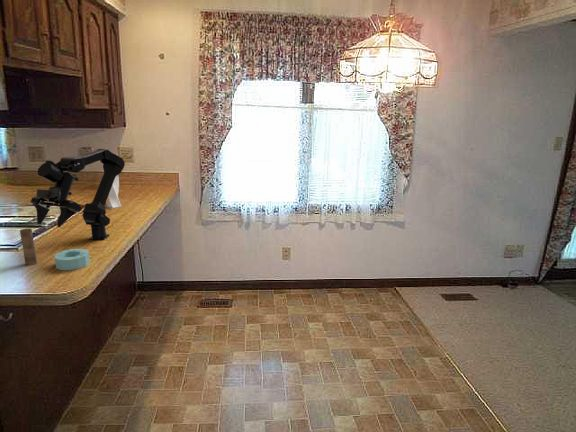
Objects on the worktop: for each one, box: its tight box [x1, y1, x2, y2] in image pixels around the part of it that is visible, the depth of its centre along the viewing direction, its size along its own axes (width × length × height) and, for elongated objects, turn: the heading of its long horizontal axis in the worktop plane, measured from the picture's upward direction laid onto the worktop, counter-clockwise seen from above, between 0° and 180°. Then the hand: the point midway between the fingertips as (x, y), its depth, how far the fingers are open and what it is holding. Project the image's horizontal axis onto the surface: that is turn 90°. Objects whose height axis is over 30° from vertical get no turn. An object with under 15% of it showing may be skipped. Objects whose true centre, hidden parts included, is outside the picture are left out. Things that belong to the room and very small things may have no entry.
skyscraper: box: [105, 174, 122, 210], centre depth 221 cm, size 8×8×28 cm
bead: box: [54, 248, 91, 271], centre depth 145 cm, size 11×11×4 cm
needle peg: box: [19, 228, 38, 266], centre depth 143 cm, size 4×4×13 cm
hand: (48, 225), depth 147 cm, fingers open, 9 cm apart
